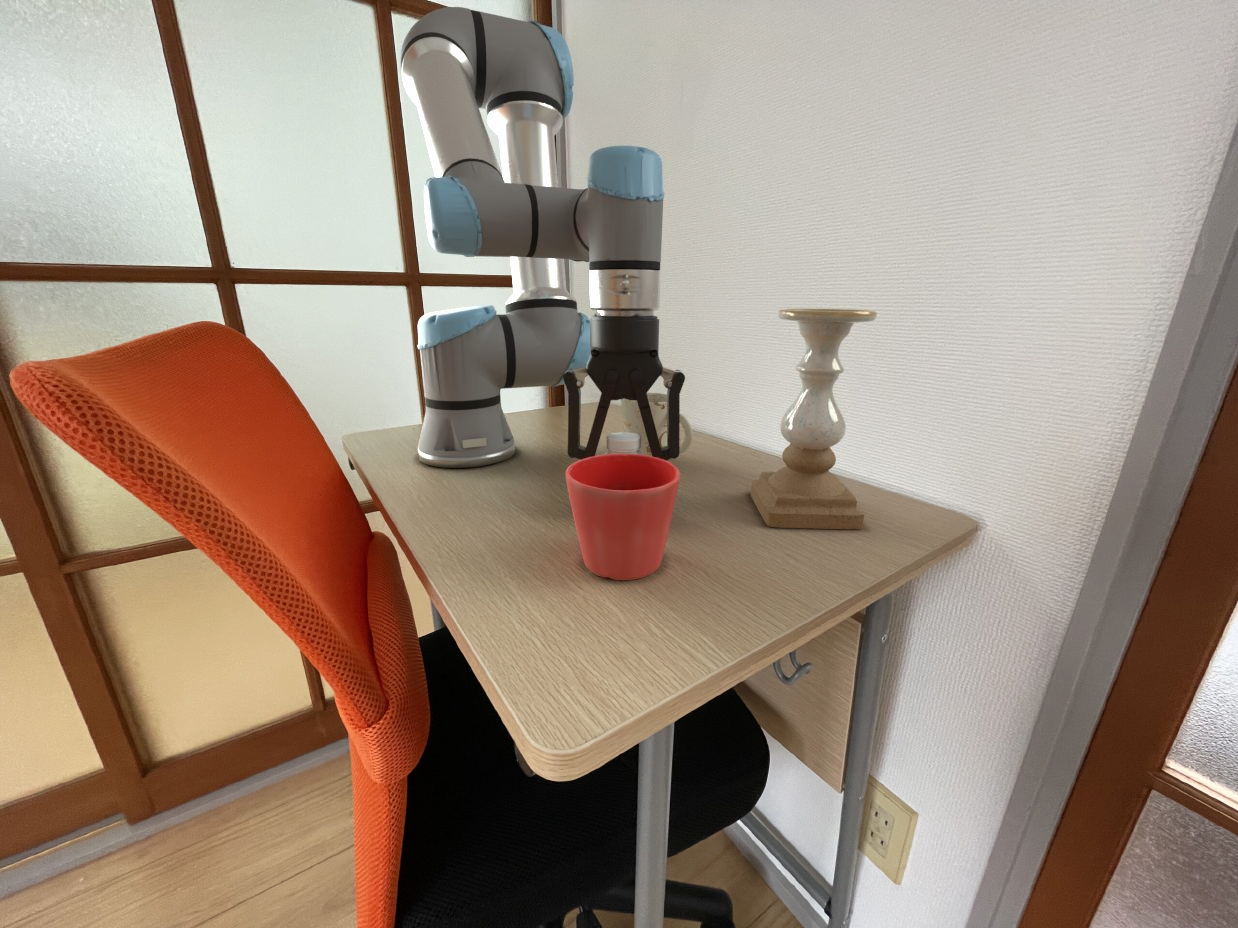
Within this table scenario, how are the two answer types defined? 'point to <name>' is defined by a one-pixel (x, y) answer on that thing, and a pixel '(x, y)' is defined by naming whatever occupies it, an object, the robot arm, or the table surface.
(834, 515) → the candle holder
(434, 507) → the table surface
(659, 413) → the mug
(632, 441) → the supplement bottle
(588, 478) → the flower pot
